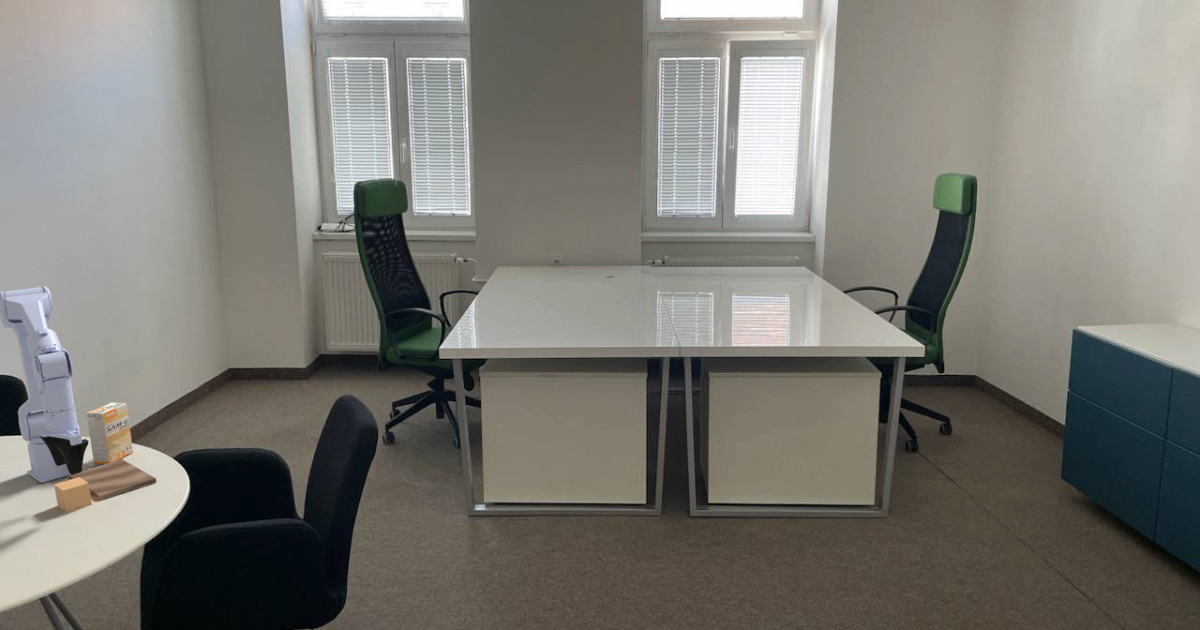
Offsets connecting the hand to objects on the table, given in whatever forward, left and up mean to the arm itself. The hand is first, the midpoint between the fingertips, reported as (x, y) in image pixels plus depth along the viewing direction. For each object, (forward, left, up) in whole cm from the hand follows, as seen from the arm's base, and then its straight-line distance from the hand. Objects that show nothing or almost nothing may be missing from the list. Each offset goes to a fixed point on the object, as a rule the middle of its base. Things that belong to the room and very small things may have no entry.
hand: (68, 468), depth 191 cm
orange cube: (0, 0, -8) cm, 8 cm away
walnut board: (-7, +11, -8) cm, 15 cm away
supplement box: (-21, +17, -9) cm, 28 cm away
